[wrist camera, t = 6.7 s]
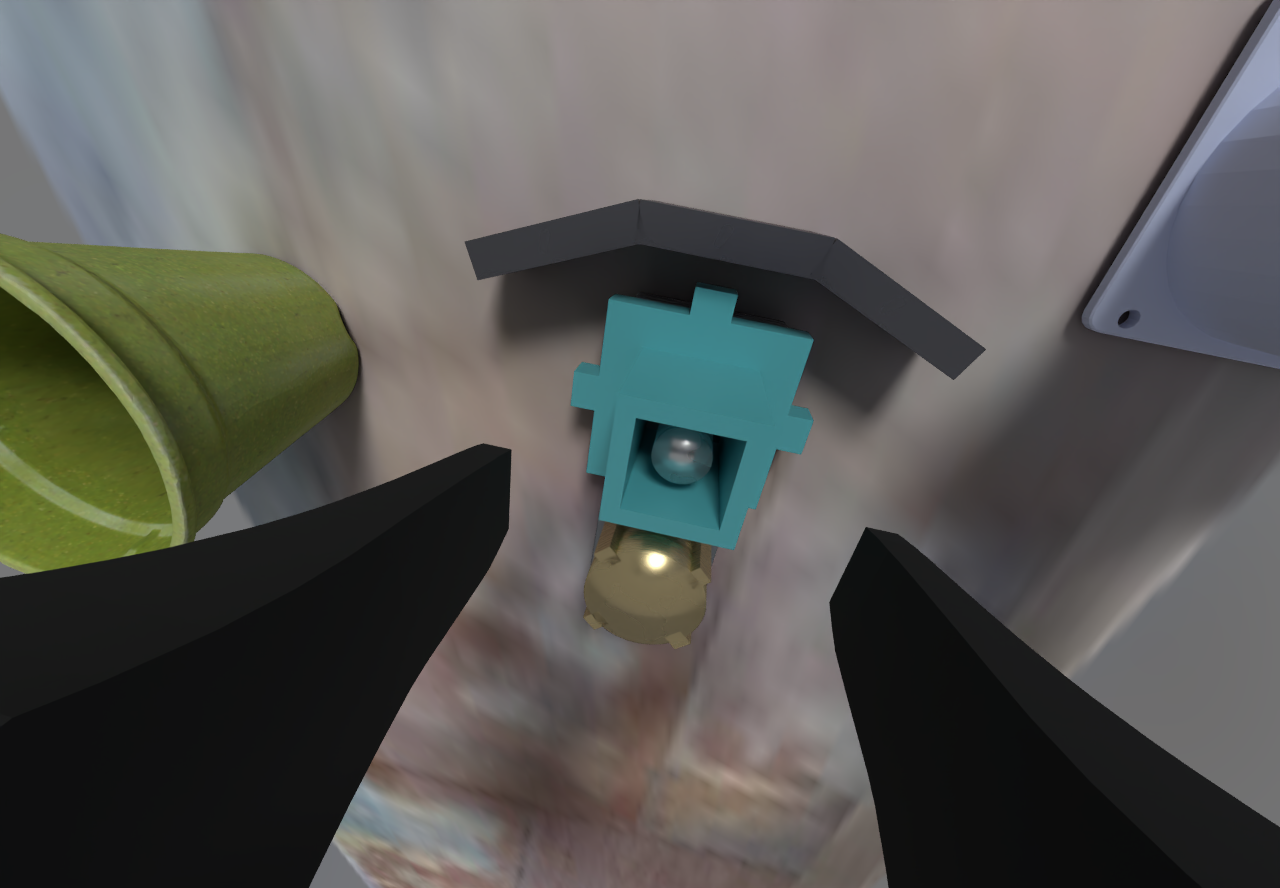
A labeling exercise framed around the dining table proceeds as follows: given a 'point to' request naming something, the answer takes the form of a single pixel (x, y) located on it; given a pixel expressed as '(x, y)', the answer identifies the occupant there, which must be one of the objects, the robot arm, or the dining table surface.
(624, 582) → the carrier
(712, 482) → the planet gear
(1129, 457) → the dining table surface
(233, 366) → the plant pot
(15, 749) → the robot arm
